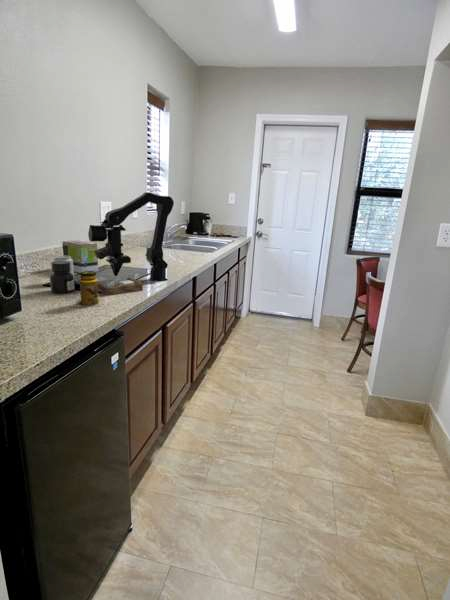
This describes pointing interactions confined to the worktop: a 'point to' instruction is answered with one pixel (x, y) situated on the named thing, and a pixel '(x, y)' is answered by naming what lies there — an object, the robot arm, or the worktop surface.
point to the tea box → (81, 255)
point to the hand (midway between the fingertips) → (115, 275)
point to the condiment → (88, 290)
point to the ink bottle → (61, 278)
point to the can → (66, 258)
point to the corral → (120, 288)
